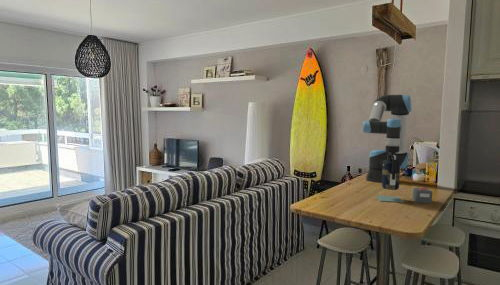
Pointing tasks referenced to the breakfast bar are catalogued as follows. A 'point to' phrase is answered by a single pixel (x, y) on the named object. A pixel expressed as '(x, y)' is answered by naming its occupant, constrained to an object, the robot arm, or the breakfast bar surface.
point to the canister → (387, 174)
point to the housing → (422, 195)
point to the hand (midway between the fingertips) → (390, 183)
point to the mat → (389, 199)
